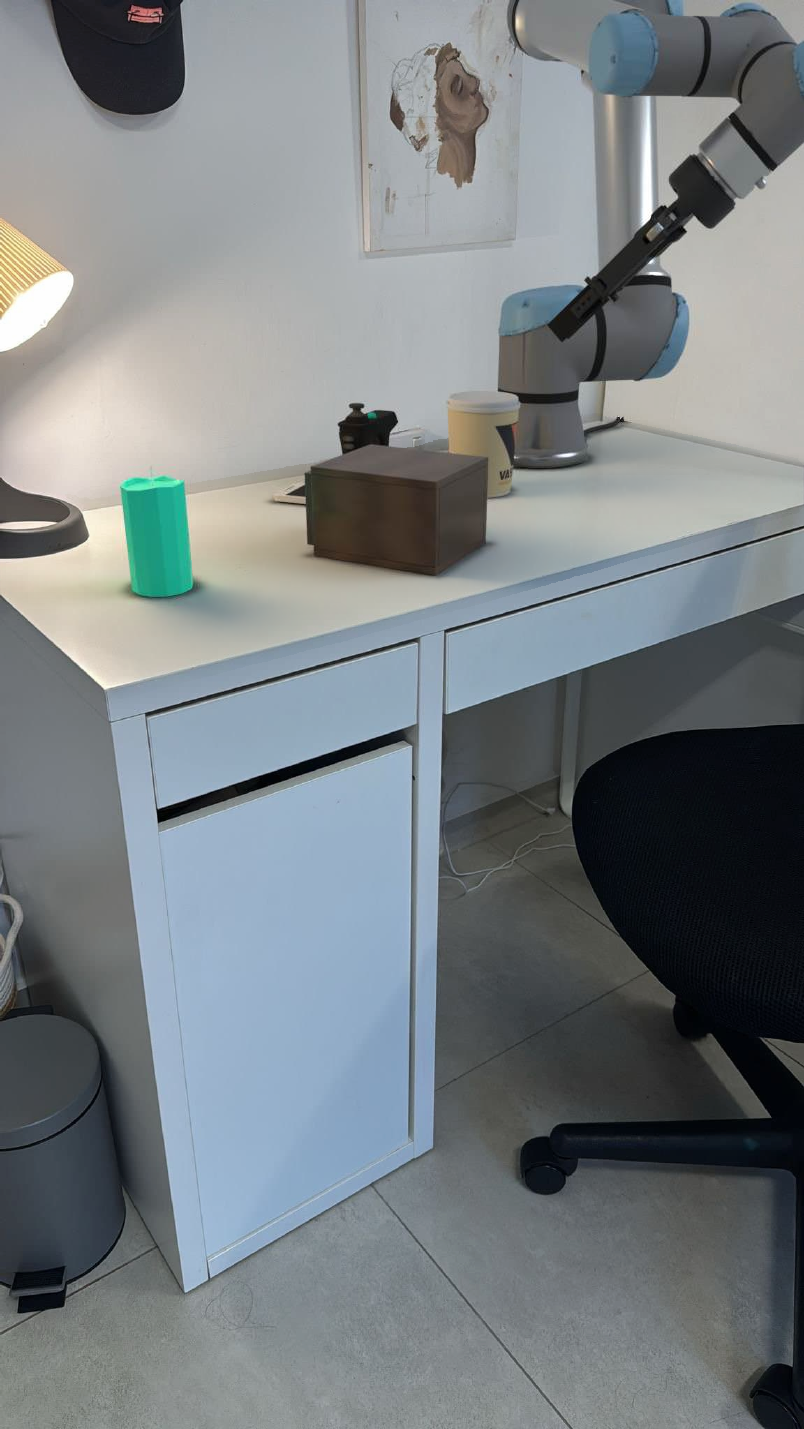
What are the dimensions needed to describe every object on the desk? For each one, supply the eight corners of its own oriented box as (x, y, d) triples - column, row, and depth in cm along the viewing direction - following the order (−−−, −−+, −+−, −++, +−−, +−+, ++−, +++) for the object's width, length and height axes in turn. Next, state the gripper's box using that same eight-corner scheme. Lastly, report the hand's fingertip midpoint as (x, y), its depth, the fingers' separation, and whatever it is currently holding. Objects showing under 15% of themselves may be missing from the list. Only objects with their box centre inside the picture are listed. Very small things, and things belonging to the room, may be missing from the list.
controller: (334, 482, 147) (332, 406, 143) (374, 463, 157) (373, 392, 153) (363, 485, 145) (361, 408, 141) (401, 466, 156) (401, 394, 151)
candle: (198, 593, 106) (187, 470, 101) (136, 600, 104) (121, 475, 99) (188, 574, 111) (177, 456, 106) (128, 581, 109) (114, 461, 104)
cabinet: (313, 555, 117) (310, 466, 113) (371, 527, 127) (370, 444, 123) (435, 575, 111) (436, 481, 107) (485, 543, 121) (488, 457, 117)
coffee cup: (512, 501, 138) (516, 404, 132) (439, 497, 139) (440, 401, 134) (520, 483, 146) (524, 391, 141) (451, 480, 148) (452, 389, 142)
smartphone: (387, 512, 133) (387, 504, 132) (273, 501, 138) (273, 493, 137) (407, 498, 139) (407, 491, 138) (298, 488, 144) (297, 481, 143)
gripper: (732, 204, 112) (564, 364, 125) (744, 203, 126) (591, 348, 138) (685, 147, 112) (521, 314, 124) (703, 152, 125) (552, 302, 137)
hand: (558, 331), depth 131 cm, fingers open, 3 cm apart
